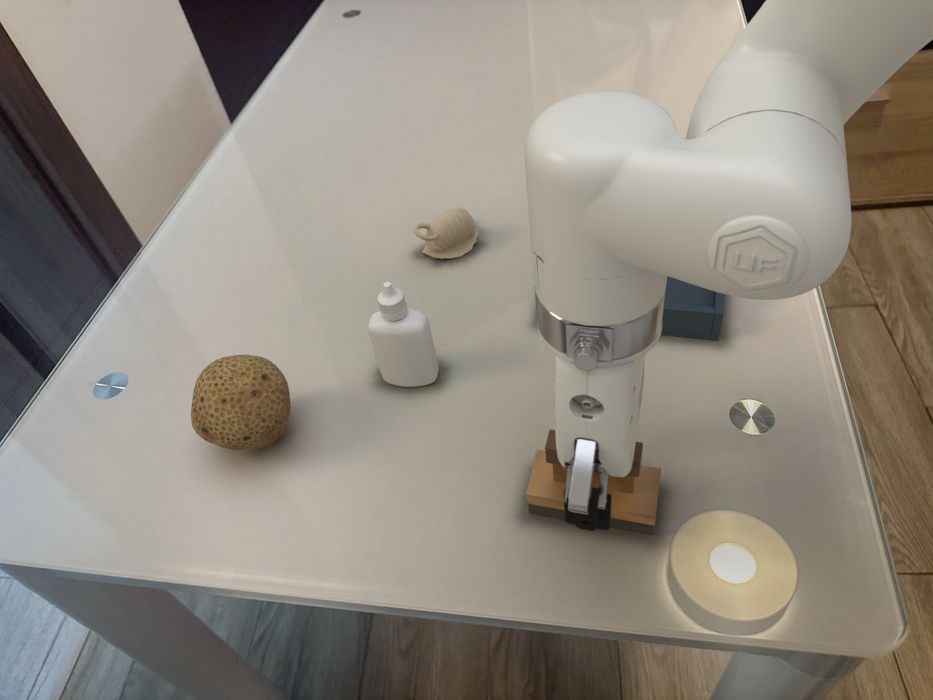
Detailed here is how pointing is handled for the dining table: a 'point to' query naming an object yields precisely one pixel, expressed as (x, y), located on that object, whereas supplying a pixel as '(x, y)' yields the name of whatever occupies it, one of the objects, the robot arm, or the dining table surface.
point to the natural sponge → (240, 403)
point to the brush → (629, 493)
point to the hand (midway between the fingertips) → (597, 468)
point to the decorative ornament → (449, 234)
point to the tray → (692, 311)
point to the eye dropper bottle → (402, 341)
